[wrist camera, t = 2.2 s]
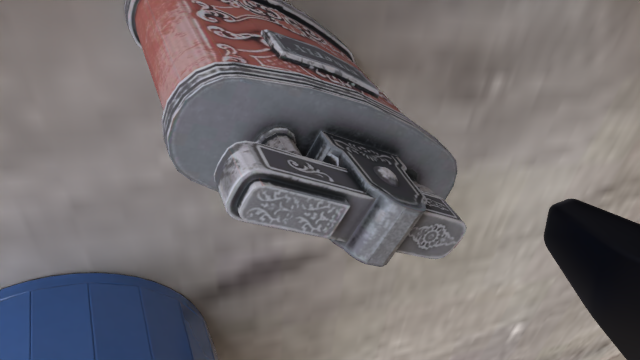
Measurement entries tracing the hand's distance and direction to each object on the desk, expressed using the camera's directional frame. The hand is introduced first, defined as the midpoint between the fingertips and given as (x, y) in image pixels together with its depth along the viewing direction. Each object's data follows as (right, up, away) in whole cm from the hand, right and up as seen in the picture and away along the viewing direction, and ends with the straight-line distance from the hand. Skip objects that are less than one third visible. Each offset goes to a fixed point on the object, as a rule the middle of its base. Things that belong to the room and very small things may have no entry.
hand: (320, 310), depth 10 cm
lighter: (-2, +7, +10) cm, 12 cm away
